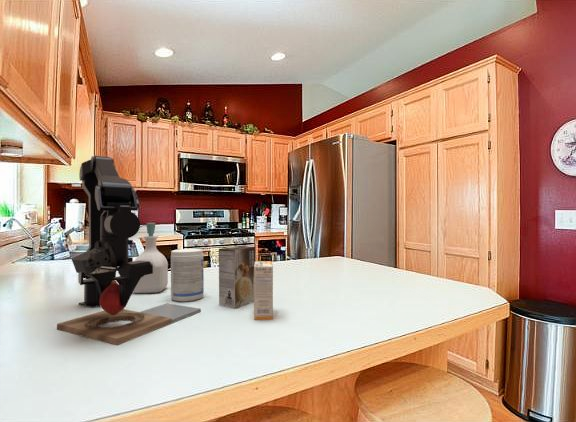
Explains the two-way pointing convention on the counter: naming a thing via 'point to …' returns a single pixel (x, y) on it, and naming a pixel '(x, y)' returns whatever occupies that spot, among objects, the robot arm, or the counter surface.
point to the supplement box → (263, 290)
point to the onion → (111, 299)
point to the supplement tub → (187, 275)
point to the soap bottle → (160, 265)
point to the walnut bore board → (117, 334)
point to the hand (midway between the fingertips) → (114, 304)
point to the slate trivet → (172, 311)
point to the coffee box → (236, 276)
